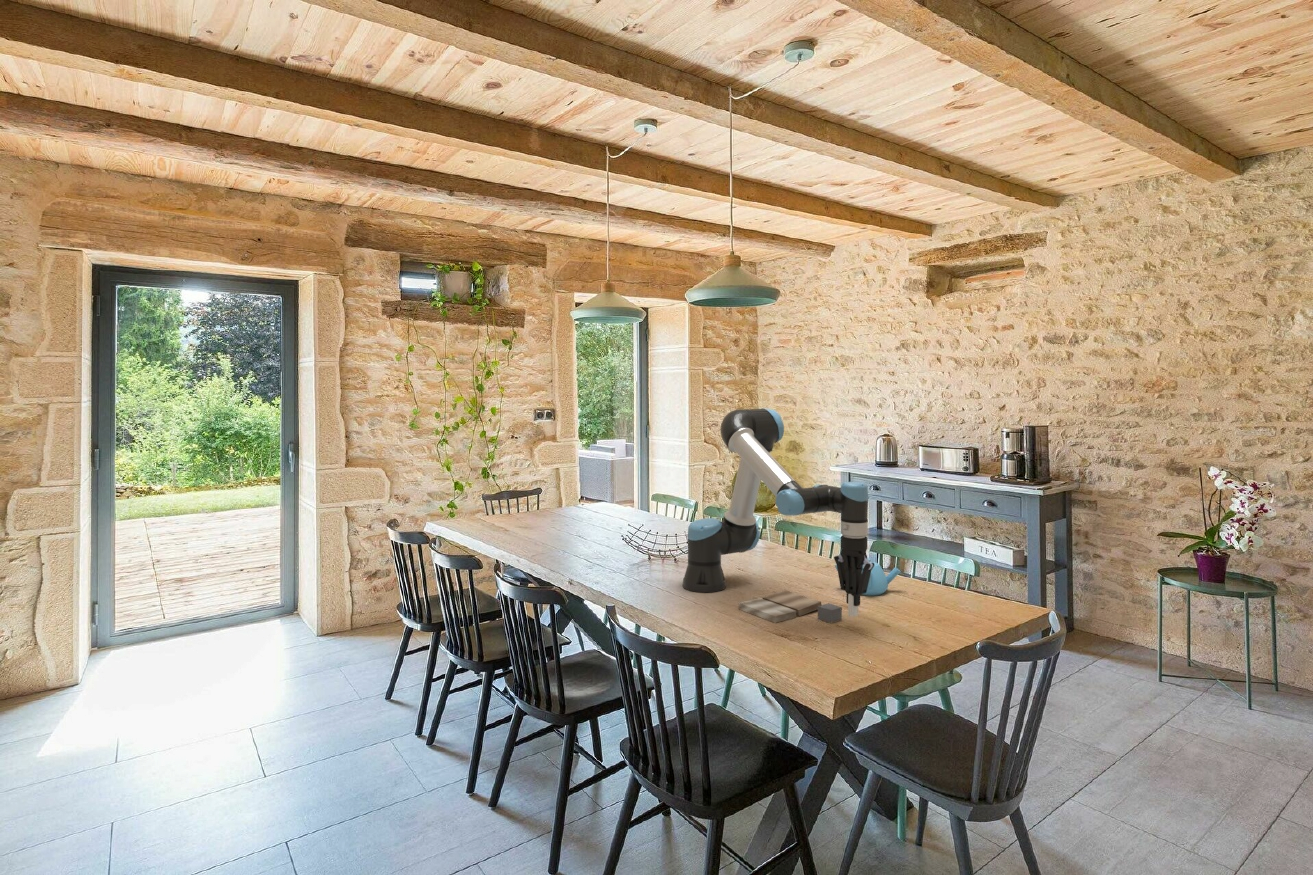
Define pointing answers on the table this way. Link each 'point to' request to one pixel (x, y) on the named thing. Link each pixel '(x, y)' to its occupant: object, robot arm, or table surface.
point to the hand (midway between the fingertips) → (853, 615)
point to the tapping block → (829, 613)
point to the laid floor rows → (767, 610)
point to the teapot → (879, 579)
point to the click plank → (794, 601)
